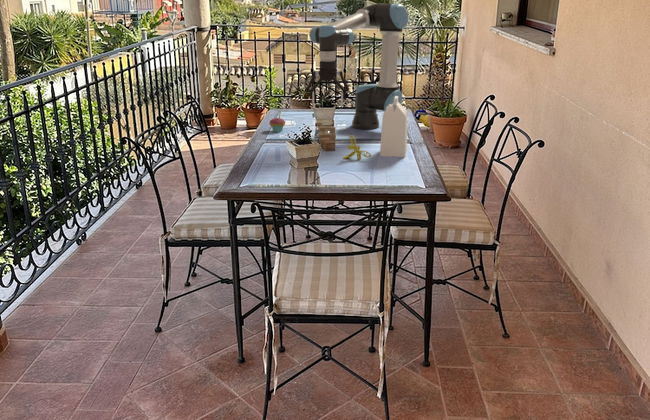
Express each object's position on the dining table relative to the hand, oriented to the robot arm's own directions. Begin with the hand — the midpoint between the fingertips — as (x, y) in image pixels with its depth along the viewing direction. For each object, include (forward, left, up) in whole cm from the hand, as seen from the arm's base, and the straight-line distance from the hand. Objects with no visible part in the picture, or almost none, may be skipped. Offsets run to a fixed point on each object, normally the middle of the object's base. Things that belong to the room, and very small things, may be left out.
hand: (327, 106), depth 273 cm
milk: (-31, +12, -20) cm, 39 cm away
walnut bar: (0, +4, -20) cm, 20 cm away
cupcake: (+27, -31, -20) cm, 45 cm away
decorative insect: (-13, +24, -20) cm, 33 cm away
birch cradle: (0, -12, -19) cm, 23 cm away
